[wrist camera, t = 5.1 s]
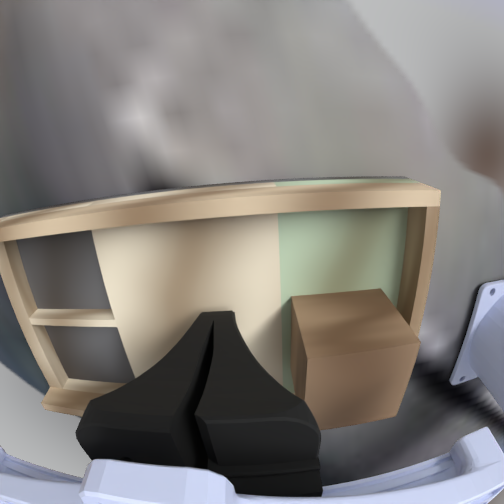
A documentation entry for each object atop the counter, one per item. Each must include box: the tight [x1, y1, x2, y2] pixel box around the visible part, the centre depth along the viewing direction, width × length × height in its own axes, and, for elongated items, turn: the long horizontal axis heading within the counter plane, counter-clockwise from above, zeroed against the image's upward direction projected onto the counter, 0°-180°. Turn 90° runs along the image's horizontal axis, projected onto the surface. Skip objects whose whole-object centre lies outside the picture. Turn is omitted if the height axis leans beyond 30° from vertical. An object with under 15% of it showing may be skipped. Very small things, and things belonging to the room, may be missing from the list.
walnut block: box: [290, 288, 421, 430], centre depth 12 cm, size 4×4×4 cm
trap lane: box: [0, 177, 441, 417], centre depth 13 cm, size 20×11×3 cm, turn 94°
